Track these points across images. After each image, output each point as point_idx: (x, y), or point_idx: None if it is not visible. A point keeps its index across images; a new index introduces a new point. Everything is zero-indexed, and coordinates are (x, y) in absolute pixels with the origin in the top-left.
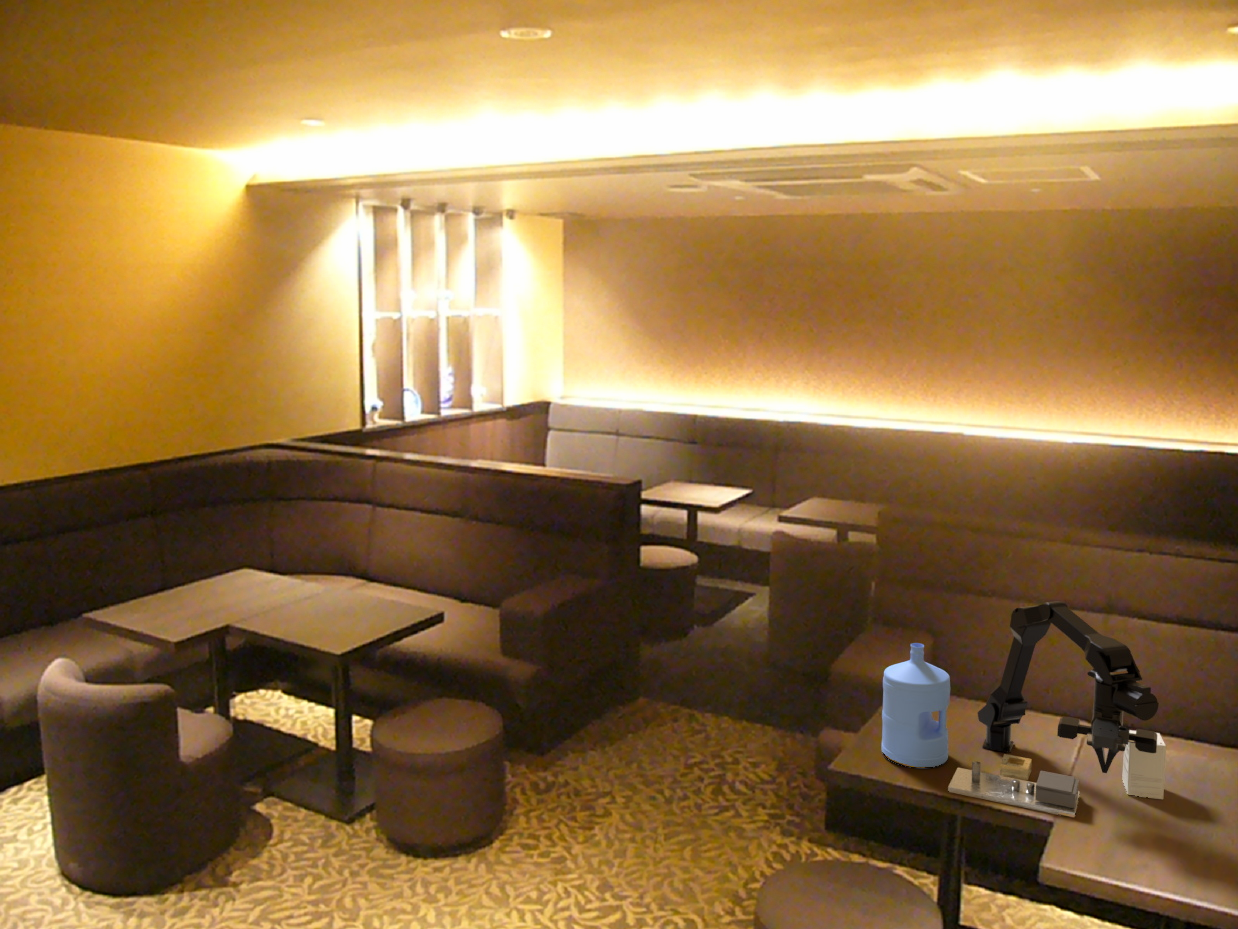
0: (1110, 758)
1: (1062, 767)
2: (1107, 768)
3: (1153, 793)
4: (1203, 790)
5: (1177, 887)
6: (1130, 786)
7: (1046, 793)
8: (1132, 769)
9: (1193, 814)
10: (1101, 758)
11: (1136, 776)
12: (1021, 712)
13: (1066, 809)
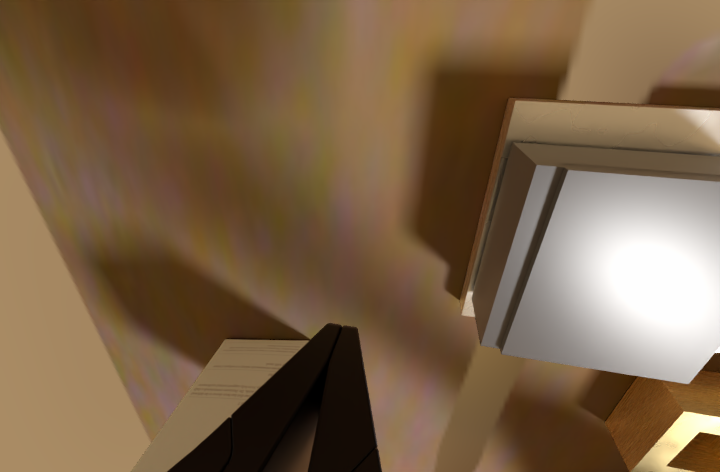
0: (226, 453)
1: (488, 447)
2: (308, 352)
3: (239, 351)
4: (167, 394)
5: None
6: None
7: (717, 169)
8: None
9: (143, 284)
10: (336, 452)
11: None
12: None
13: (556, 126)
